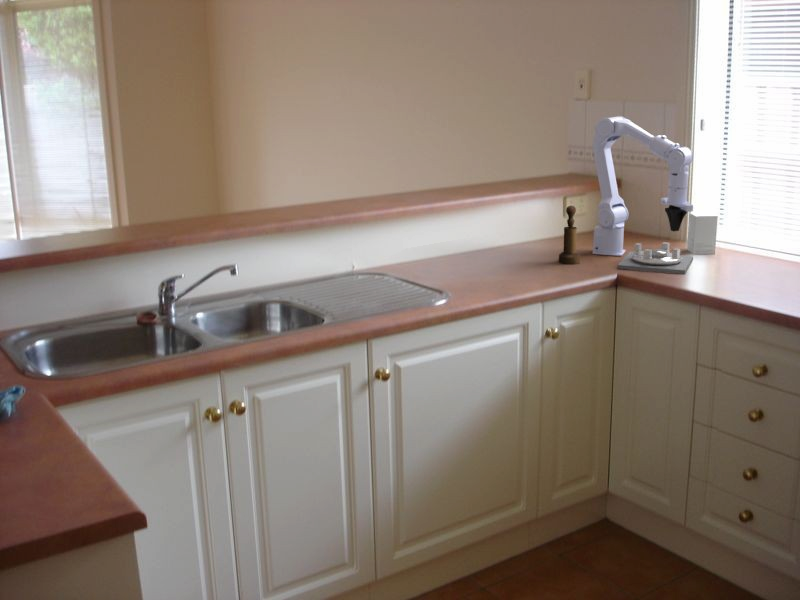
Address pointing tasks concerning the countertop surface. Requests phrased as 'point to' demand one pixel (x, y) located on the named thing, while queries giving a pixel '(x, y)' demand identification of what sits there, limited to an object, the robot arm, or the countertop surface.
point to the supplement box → (702, 233)
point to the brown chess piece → (570, 240)
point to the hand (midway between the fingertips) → (674, 230)
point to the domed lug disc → (656, 255)
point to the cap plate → (675, 268)
